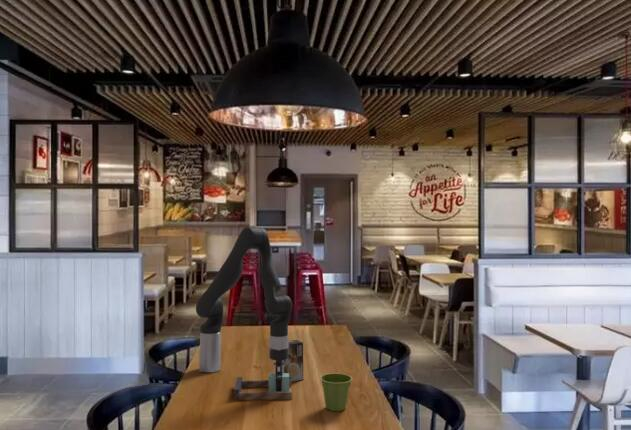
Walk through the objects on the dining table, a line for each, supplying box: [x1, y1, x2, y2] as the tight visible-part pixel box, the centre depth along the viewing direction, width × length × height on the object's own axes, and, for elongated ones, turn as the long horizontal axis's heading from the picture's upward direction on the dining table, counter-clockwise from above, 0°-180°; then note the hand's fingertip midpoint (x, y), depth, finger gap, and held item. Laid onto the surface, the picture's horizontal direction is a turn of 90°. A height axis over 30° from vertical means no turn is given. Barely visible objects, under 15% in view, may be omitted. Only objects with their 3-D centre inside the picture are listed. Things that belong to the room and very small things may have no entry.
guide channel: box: [233, 376, 293, 401], centre depth 226 cm, size 22×16×4 cm
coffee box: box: [282, 339, 304, 383], centre depth 243 cm, size 9×6×16 cm
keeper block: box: [268, 372, 290, 392], centre depth 226 cm, size 8×5×7 cm, turn 93°
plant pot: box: [319, 372, 353, 412], centre depth 208 cm, size 12×12×11 cm
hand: (278, 388), depth 226 cm, fingers open, 7 cm apart
